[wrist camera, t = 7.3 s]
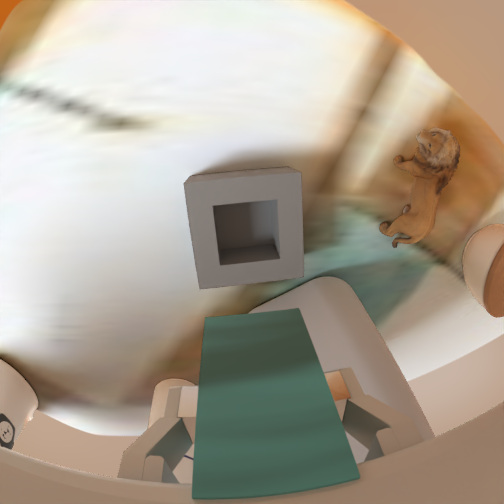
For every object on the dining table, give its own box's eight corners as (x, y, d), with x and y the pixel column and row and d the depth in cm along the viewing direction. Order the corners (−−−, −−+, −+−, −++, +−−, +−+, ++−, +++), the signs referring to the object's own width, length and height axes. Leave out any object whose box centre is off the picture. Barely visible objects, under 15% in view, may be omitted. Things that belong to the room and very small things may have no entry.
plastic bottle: (339, 259, 34) (495, 461, 9) (369, 343, 40) (464, 504, 14) (224, 317, 36) (244, 564, 10) (275, 388, 41) (317, 567, 15)
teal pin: (205, 317, 13) (191, 497, 5) (299, 308, 13) (360, 476, 5) (218, 382, 14) (219, 532, 7) (298, 373, 14) (336, 518, 7)
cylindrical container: (211, 392, 40) (218, 555, 17) (185, 414, 42) (181, 559, 19) (169, 371, 38) (151, 544, 15) (146, 395, 40) (123, 547, 17)
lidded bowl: (446, 230, 35) (501, 262, 24) (499, 202, 34) (550, 224, 24) (449, 301, 39) (492, 340, 29) (498, 269, 39) (540, 298, 29)
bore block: (202, 267, 33) (199, 289, 28) (189, 176, 29) (183, 183, 25) (292, 257, 34) (303, 277, 29) (288, 166, 30) (301, 172, 25)
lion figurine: (386, 122, 29) (435, 123, 21) (422, 129, 29) (473, 134, 21) (375, 246, 34) (415, 279, 26) (409, 245, 35) (452, 275, 27)
